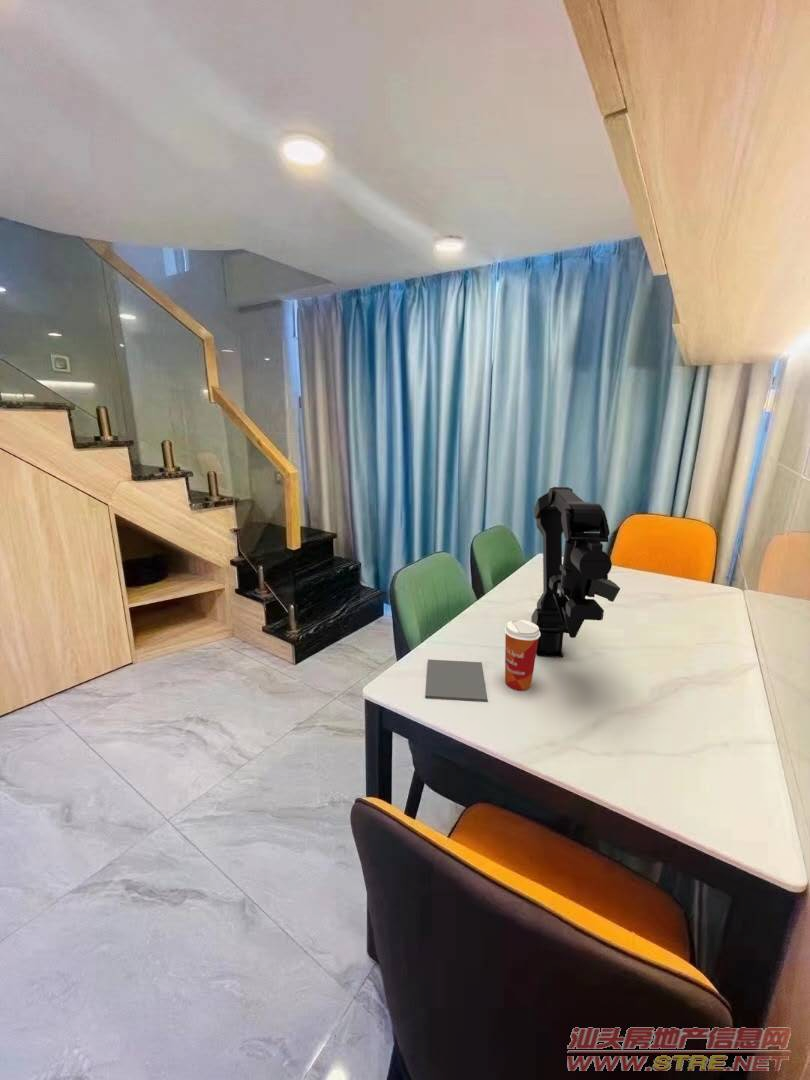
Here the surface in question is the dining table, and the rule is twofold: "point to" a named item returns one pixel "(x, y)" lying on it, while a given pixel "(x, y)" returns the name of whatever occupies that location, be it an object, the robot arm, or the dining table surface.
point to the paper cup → (520, 653)
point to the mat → (455, 680)
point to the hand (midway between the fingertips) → (569, 632)
